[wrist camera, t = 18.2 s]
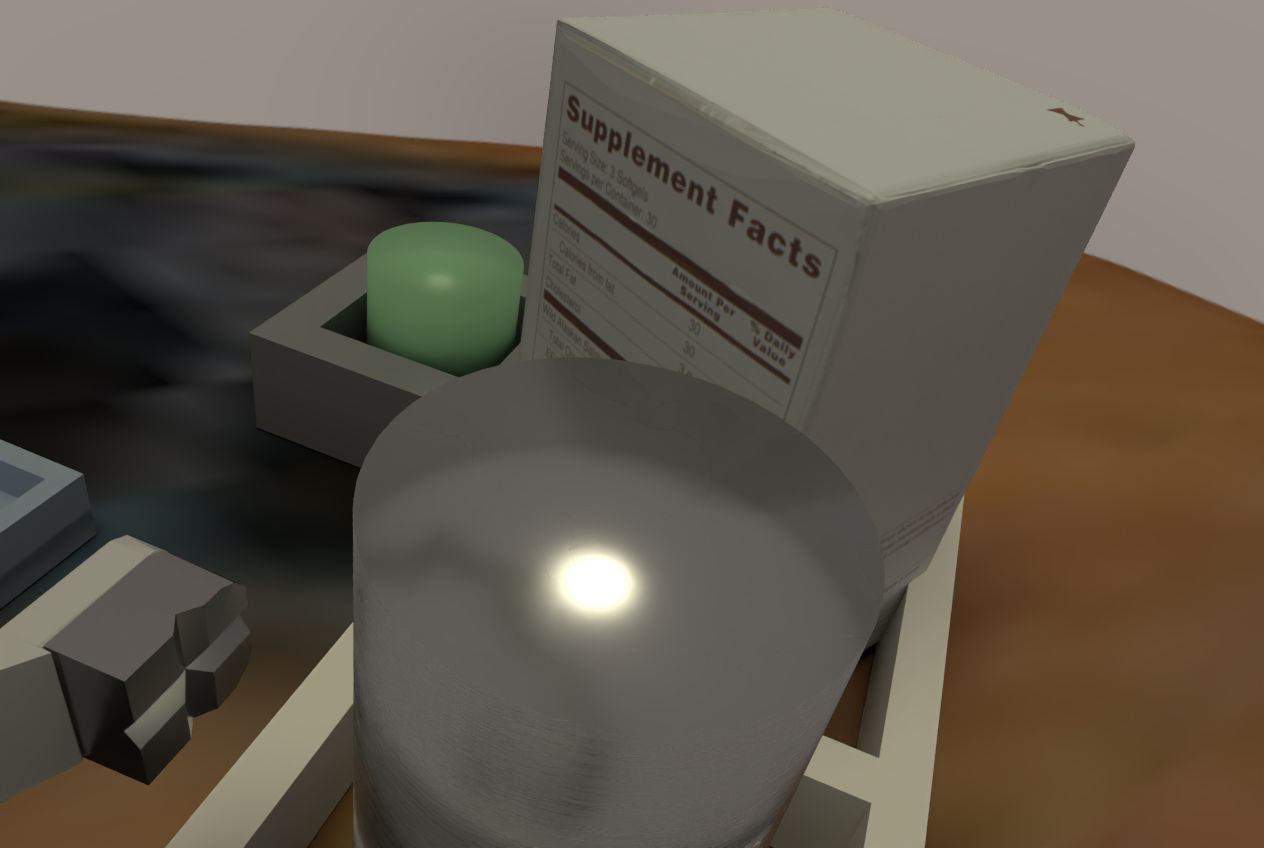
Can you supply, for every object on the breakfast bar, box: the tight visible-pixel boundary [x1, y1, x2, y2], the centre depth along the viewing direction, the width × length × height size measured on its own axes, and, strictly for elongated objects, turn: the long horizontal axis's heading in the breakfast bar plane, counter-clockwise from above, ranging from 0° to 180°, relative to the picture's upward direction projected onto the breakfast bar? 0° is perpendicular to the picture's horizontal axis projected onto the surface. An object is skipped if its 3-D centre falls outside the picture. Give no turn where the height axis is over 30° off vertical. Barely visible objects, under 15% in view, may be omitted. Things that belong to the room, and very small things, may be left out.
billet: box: [353, 357, 885, 848], centre depth 12 cm, size 5×5×11 cm
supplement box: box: [518, 7, 1135, 651], centre depth 20 cm, size 7×7×13 cm
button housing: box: [249, 253, 528, 468], centre depth 27 cm, size 7×7×3 cm
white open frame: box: [165, 495, 964, 848], centre depth 19 cm, size 21×11×2 cm, turn 160°
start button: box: [367, 222, 524, 377], centre depth 26 cm, size 4×4×4 cm
